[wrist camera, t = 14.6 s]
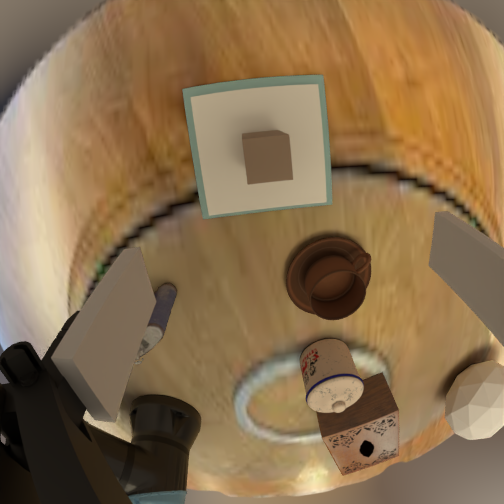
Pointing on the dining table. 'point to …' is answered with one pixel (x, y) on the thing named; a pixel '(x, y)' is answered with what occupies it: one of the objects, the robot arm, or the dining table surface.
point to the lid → (260, 147)
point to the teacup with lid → (330, 376)
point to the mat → (247, 85)
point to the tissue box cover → (363, 428)
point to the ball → (477, 401)
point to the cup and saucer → (329, 278)
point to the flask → (157, 319)
